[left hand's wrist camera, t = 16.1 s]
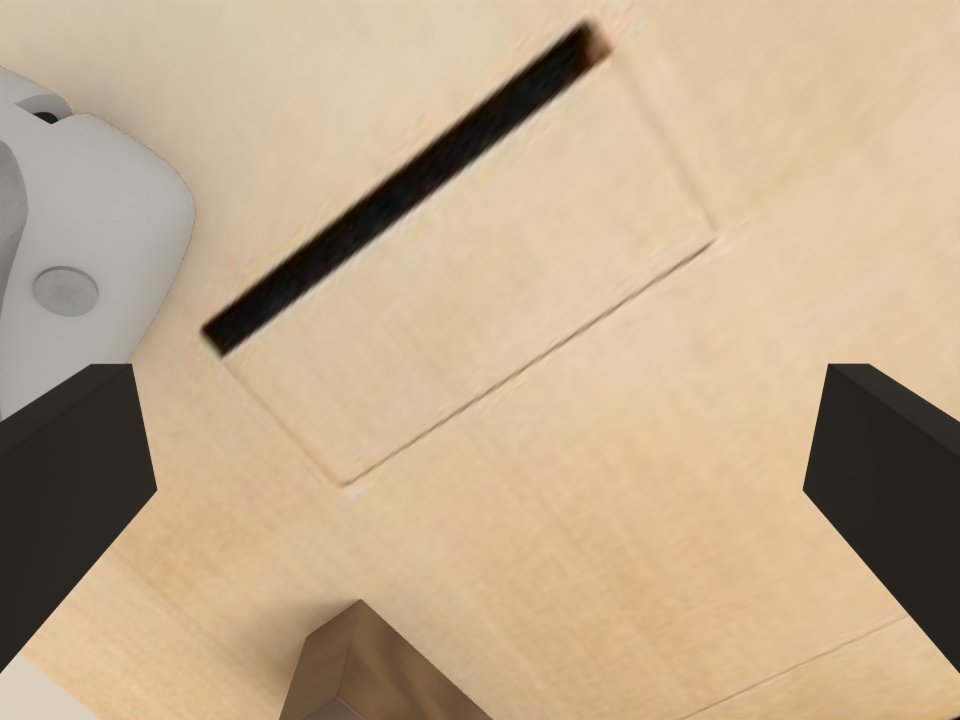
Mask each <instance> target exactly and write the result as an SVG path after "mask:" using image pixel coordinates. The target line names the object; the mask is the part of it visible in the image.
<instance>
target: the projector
mask: <svg viewBox="0 0 960 720" xmlns="http://www.w3.org/2000/svg"><path fill="white" fill-rule="evenodd" d="M194 222H195V202H194V198H193V195H192V193H191V190H190V188H189V187H188V185H187V184H186V182H185V180H184V179H183V178H182V176H181V175H180V174H179V173H178V172H177V171H176V170H175V169H174V168H173V167H172V166H171V165H170V164H169V163H168V162H166V161H165V160H164V159H163V158H161V157H160V156H158V155H157V154H156V153H154V152H153V151H152V150H150V149H149V148H147V147H146V146H144V145H143V144H141V143H140V142H138V141H137V140H135V139H134V138H132V137H130V136H129V135H127V134H125V133H124V132H122V131H120V130H119V129H117V128H115V127H114V126H112V125H110V124H108V123H107V122H105V121H103V120H101V119H100V118H98V117H96V116H94V115H90V114H78V115H72V112H71V109H70V107H69V105H68V103H67V102H66V101H65V100H64V99H63V98H62V97H60V96H59V95H57V94H55V93H53V92H51V91H50V90H48V89H46V88H44V87H42V86H40V85H38V84H37V83H35V82H33V81H31V80H29V79H27V78H25V77H23V76H21V75H19V74H17V73H15V72H13V71H10V70H8V69H6V68H4V67H1V66H0V422H1V421H3V420H4V419H6V418H7V417H9V416H10V415H12V414H14V413H15V412H17V411H18V410H20V409H21V408H23V407H24V406H26V405H28V404H29V403H31V402H32V401H34V400H35V399H37V398H38V397H40V396H42V395H43V394H45V393H46V392H48V391H49V390H51V389H52V388H54V387H56V386H57V385H59V384H60V383H62V382H63V381H65V380H67V379H68V378H70V377H71V376H73V375H74V374H76V373H77V372H79V371H81V370H82V369H84V368H85V367H87V366H88V365H90V364H125V363H126V361H127V360H128V359H129V357H130V356H131V354H132V353H133V351H134V350H135V349H136V347H137V346H138V344H139V343H140V341H141V340H142V338H143V336H144V335H145V333H146V332H147V330H148V328H149V327H150V325H151V323H152V322H153V320H154V318H155V316H156V315H157V313H158V311H159V309H160V307H161V306H162V304H163V302H164V300H165V298H166V296H167V294H168V292H169V290H170V288H171V286H172V284H173V282H174V279H175V277H176V275H177V272H178V270H179V268H180V266H181V263H182V261H183V258H184V256H185V253H186V250H187V248H188V245H189V242H190V238H191V235H192V231H193V227H194Z"/></svg>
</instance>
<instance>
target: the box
mask: <svg viewBox="0 0 960 720" xmlns="http://www.w3.org/2000/svg"><path fill="white" fill-rule="evenodd" d="M279 720H492V719H491V718H490V717H489V716H488V715H487V714H486V713H485V712H483V711H482V710H481V709H480V708H479V707H478V706H477V705H476V704H475V703H474V702H473V701H471V700H470V699H469V698H468V697H467V696H466V695H465V694H464V693H463V692H462V691H461V690H459V689H458V688H457V687H456V686H455V685H454V684H453V683H452V682H451V681H450V680H449V679H447V678H446V677H445V676H444V675H443V674H442V673H441V672H440V671H439V670H438V669H437V668H435V667H434V666H433V665H432V664H431V663H430V662H429V661H428V660H427V659H426V658H425V657H424V656H422V655H421V654H420V653H419V652H418V651H417V650H416V649H415V648H414V647H413V646H412V645H410V644H409V643H408V642H407V641H406V640H405V639H404V638H403V637H402V636H401V635H400V634H398V633H397V632H396V631H395V630H394V629H393V628H392V627H391V626H390V625H389V624H388V623H386V622H385V621H384V620H383V619H382V618H381V617H380V616H379V615H378V614H377V613H376V612H374V611H373V610H372V609H371V608H370V607H369V606H368V605H367V604H366V603H365V602H364V601H362V600H360V601H358V602H357V603H355V604H354V605H352V606H351V607H350V608H348V609H347V610H345V611H344V612H342V613H341V614H339V615H338V616H337V617H335V618H334V619H332V620H331V621H329V622H328V623H326V624H325V625H324V626H322V627H321V628H319V629H318V630H316V631H315V632H313V633H312V634H311V635H309V636H308V637H307V638H306V640H305V643H304V646H303V649H302V652H301V655H300V658H299V661H298V664H297V667H296V670H295V673H294V676H293V679H292V682H291V685H290V688H289V691H288V694H287V697H286V700H285V703H284V706H283V709H282V712H281V715H280V718H279Z"/></svg>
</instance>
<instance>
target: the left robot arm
mask: <svg viewBox="0 0 960 720" xmlns="http://www.w3.org/2000/svg"><path fill="white" fill-rule="evenodd" d="M156 491H157V486H156V481H155V476H154V471H153V466H152V461H151V456H150V451H149V446H148V441H147V436H146V431H145V427H144V422H143V417H142V412H141V407H140V402H139V397H138V392H137V387H136V382H135V377H134V372H133V367H132V364H90V365H88V366H87V367H85V368H84V369H82V370H81V371H79V372H77V373H76V374H74V375H73V376H71V377H70V378H68V379H67V380H65V381H63V382H62V383H60V384H59V385H57V386H56V387H54V388H52V389H51V390H49V391H48V392H46V393H45V394H43V395H42V396H40V397H38V398H37V399H35V400H34V401H32V402H31V403H29V404H28V405H26V406H24V407H23V408H21V409H20V410H18V411H17V412H15V413H14V414H12V415H10V416H9V417H7V418H6V419H4V420H3V421H1V422H0V673H1V672H2V671H3V670H4V668H5V667H6V666H7V665H8V664H9V663H10V662H11V660H12V659H13V658H14V657H15V656H16V655H17V653H18V652H19V651H20V650H21V649H22V648H23V646H24V645H25V644H26V643H27V642H28V641H29V639H30V638H31V637H32V636H33V635H34V634H35V632H36V631H37V630H38V629H39V628H40V627H41V625H42V624H43V623H44V622H45V621H46V620H47V618H48V617H49V616H50V615H51V614H52V613H53V611H54V610H55V609H56V608H57V607H58V606H59V604H60V603H61V602H62V601H63V600H64V599H65V597H66V596H67V595H68V594H69V593H70V592H71V590H72V589H73V588H74V587H75V586H76V585H77V583H78V582H79V581H80V580H81V579H82V578H83V576H84V575H85V574H86V573H87V572H88V571H89V569H90V568H91V567H92V566H93V565H94V564H95V562H96V561H97V560H98V559H99V558H100V557H101V555H102V554H103V553H104V552H105V551H106V550H107V548H108V547H109V546H110V545H111V544H112V543H113V541H114V540H115V539H116V538H117V537H118V536H119V534H120V533H121V532H122V531H123V530H124V529H125V527H126V526H127V525H128V524H129V523H130V522H131V520H132V519H133V518H134V517H135V516H136V515H137V513H138V512H139V511H140V510H141V509H142V508H143V506H144V505H145V504H146V503H147V502H148V501H149V499H150V498H151V497H152V496H153V495H154V494H155V492H156ZM803 491H804V492H805V494H806V495H807V496H808V497H809V498H810V499H811V501H812V502H813V503H814V504H815V505H816V506H817V508H818V509H819V510H820V511H821V512H822V513H823V515H824V516H825V517H826V518H827V519H828V520H829V522H830V523H831V524H832V525H833V526H834V527H835V529H836V530H837V531H838V532H839V533H840V534H841V536H842V537H843V538H844V539H845V540H846V541H847V543H848V544H849V545H850V546H851V547H852V548H853V550H854V551H855V552H856V553H857V554H858V555H859V557H860V558H861V559H862V560H863V561H864V562H865V564H866V565H867V566H868V567H869V568H870V569H871V571H872V572H873V573H874V574H875V575H876V576H877V578H878V579H879V580H880V581H881V582H882V583H883V585H884V586H885V587H886V588H887V589H888V590H889V592H890V593H891V594H892V595H893V596H894V597H895V599H896V600H897V601H898V602H899V603H900V604H901V606H902V607H903V608H904V609H905V610H906V611H907V613H908V614H909V615H910V616H911V617H912V618H913V620H914V621H915V622H916V623H917V624H918V625H919V627H920V628H921V629H922V630H923V631H924V632H925V634H926V635H927V636H928V637H929V638H930V639H931V641H932V642H933V643H934V644H935V645H936V646H937V648H938V649H939V650H940V651H941V652H942V653H943V655H944V656H945V657H946V658H947V659H948V660H949V662H950V663H951V664H952V665H953V666H954V667H955V669H956V670H957V671H958V672H959V673H960V422H959V421H957V420H956V419H954V418H953V417H951V416H950V415H948V414H946V413H945V412H943V411H942V410H940V409H939V408H937V407H936V406H934V405H932V404H931V403H929V402H928V401H926V400H925V399H923V398H922V397H920V396H918V395H917V394H915V393H914V392H912V391H911V390H909V389H908V388H906V387H904V386H903V385H901V384H900V383H898V382H897V381H895V380H893V379H892V378H890V377H889V376H887V375H886V374H884V373H883V372H881V371H879V370H878V369H876V368H875V367H873V366H872V365H870V364H828V367H827V372H826V377H825V382H824V387H823V392H822V397H821V402H820V407H819V412H818V417H817V422H816V427H815V431H814V436H813V441H812V446H811V451H810V456H809V461H808V466H807V471H806V476H805V481H804V486H803Z"/></svg>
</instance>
